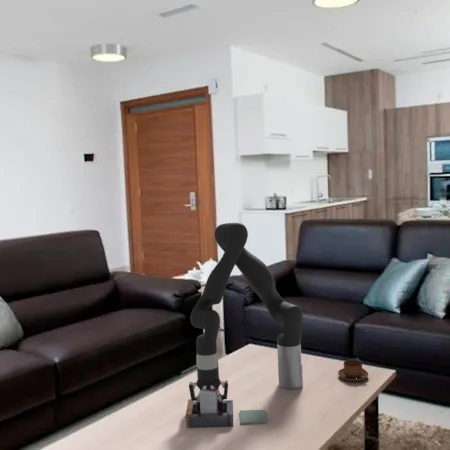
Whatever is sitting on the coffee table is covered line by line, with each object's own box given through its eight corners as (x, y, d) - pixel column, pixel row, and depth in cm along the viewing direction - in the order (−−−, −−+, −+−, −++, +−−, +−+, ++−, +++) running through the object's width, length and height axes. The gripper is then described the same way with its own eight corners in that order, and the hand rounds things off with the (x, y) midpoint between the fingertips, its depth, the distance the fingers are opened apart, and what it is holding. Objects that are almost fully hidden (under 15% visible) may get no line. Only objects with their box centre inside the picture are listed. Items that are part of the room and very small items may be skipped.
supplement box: (217, 423, 181) (215, 391, 180) (200, 422, 182) (198, 391, 181) (220, 415, 187) (218, 384, 186) (204, 415, 188) (202, 384, 187)
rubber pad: (265, 411, 189) (265, 409, 189) (266, 423, 180) (266, 421, 180) (240, 412, 189) (240, 410, 189) (240, 424, 180) (240, 422, 180)
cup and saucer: (372, 374, 216) (371, 360, 216) (363, 385, 206) (362, 370, 206) (344, 370, 223) (343, 356, 222) (333, 380, 213) (333, 365, 212)
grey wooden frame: (233, 410, 190) (232, 397, 190) (233, 426, 179) (232, 412, 178) (189, 412, 191) (188, 399, 190) (186, 428, 179) (185, 414, 178)
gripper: (228, 360, 186) (230, 405, 188) (187, 361, 186) (190, 406, 188) (228, 368, 179) (230, 415, 180) (185, 369, 179) (188, 416, 181)
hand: (210, 410), depth 184 cm, fingers closed on supplement box, 6 cm apart
